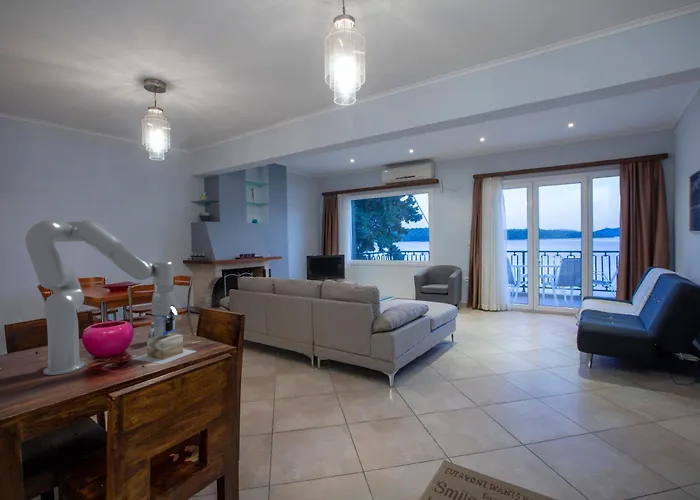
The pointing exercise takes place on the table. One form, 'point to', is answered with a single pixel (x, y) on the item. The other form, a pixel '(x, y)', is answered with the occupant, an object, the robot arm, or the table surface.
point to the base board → (160, 361)
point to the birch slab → (164, 341)
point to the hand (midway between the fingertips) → (164, 329)
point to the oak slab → (165, 352)
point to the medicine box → (161, 326)
